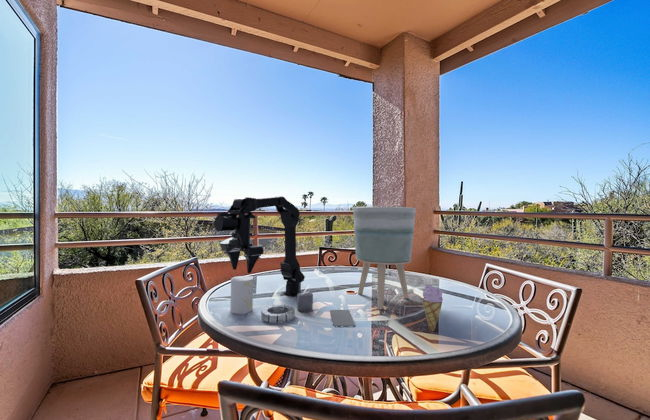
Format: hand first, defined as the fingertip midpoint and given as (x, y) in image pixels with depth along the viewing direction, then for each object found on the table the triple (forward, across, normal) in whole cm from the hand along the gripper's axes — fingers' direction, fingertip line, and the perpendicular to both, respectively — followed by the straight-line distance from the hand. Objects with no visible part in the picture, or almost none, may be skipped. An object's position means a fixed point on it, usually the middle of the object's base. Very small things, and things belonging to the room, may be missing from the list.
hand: (241, 271), depth 109 cm
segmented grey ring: (+15, +16, +4) cm, 22 cm away
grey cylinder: (+15, 0, 0) cm, 15 cm away
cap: (+15, +18, +16) cm, 28 cm away
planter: (+15, +35, +47) cm, 61 cm away
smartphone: (+15, +34, +18) cm, 42 cm away
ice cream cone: (+15, +62, +29) cm, 70 cm away
